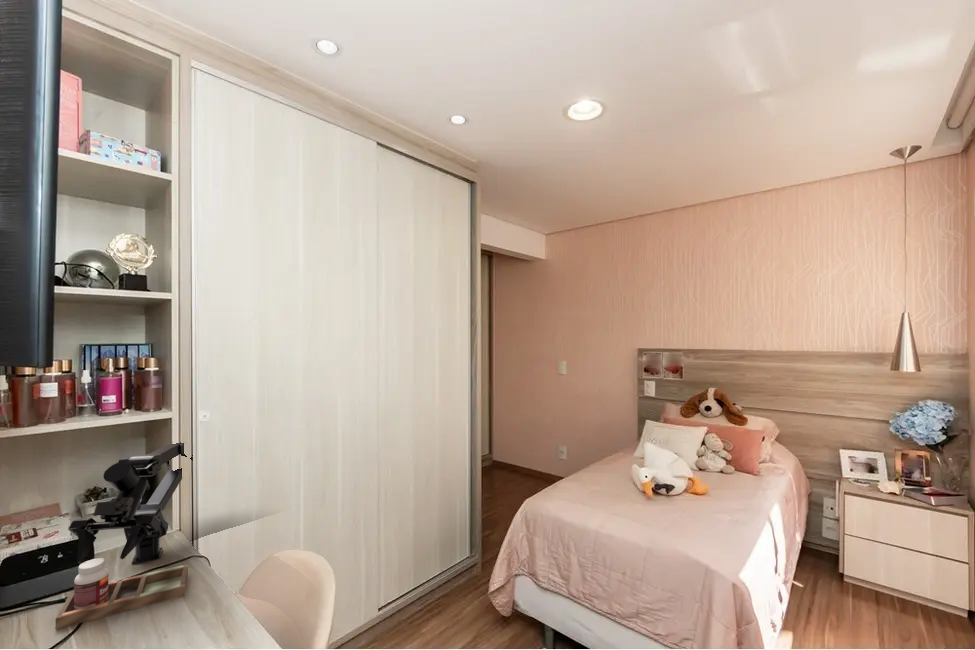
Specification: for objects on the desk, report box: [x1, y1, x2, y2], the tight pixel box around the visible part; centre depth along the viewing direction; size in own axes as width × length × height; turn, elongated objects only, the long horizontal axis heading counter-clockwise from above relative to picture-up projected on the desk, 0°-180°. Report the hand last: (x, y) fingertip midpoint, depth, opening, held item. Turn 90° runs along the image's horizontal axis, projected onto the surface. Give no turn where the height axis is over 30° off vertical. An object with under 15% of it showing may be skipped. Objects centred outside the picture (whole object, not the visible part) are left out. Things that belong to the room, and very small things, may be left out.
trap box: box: [55, 564, 189, 630], centre depth 109 cm, size 24×11×3 cm, turn 121°
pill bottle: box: [73, 557, 109, 611], centre depth 105 cm, size 6×6×11 cm
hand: (100, 560), depth 108 cm, fingers open, 9 cm apart
